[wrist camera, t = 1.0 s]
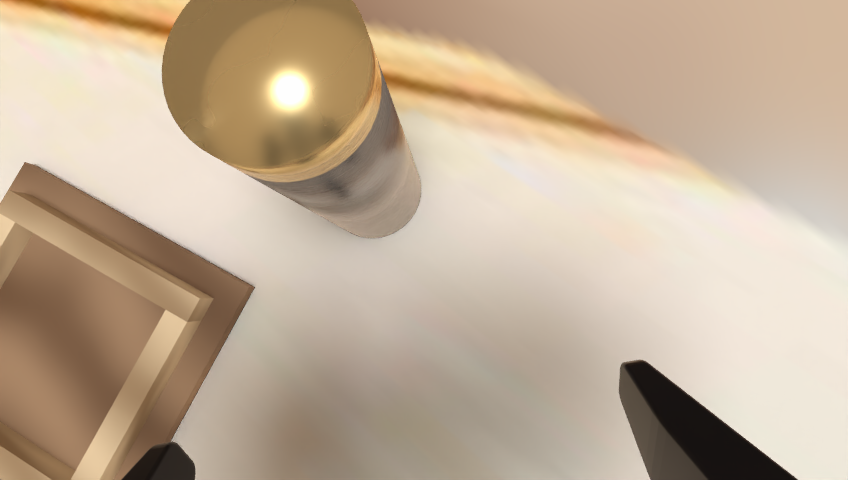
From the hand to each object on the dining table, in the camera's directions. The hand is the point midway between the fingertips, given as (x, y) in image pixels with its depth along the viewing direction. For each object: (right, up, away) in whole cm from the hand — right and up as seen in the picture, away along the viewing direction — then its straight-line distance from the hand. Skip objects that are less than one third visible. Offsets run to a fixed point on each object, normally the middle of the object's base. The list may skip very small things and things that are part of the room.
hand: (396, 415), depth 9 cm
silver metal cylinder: (-2, +6, +14) cm, 15 cm away
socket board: (-17, -2, +14) cm, 22 cm away
